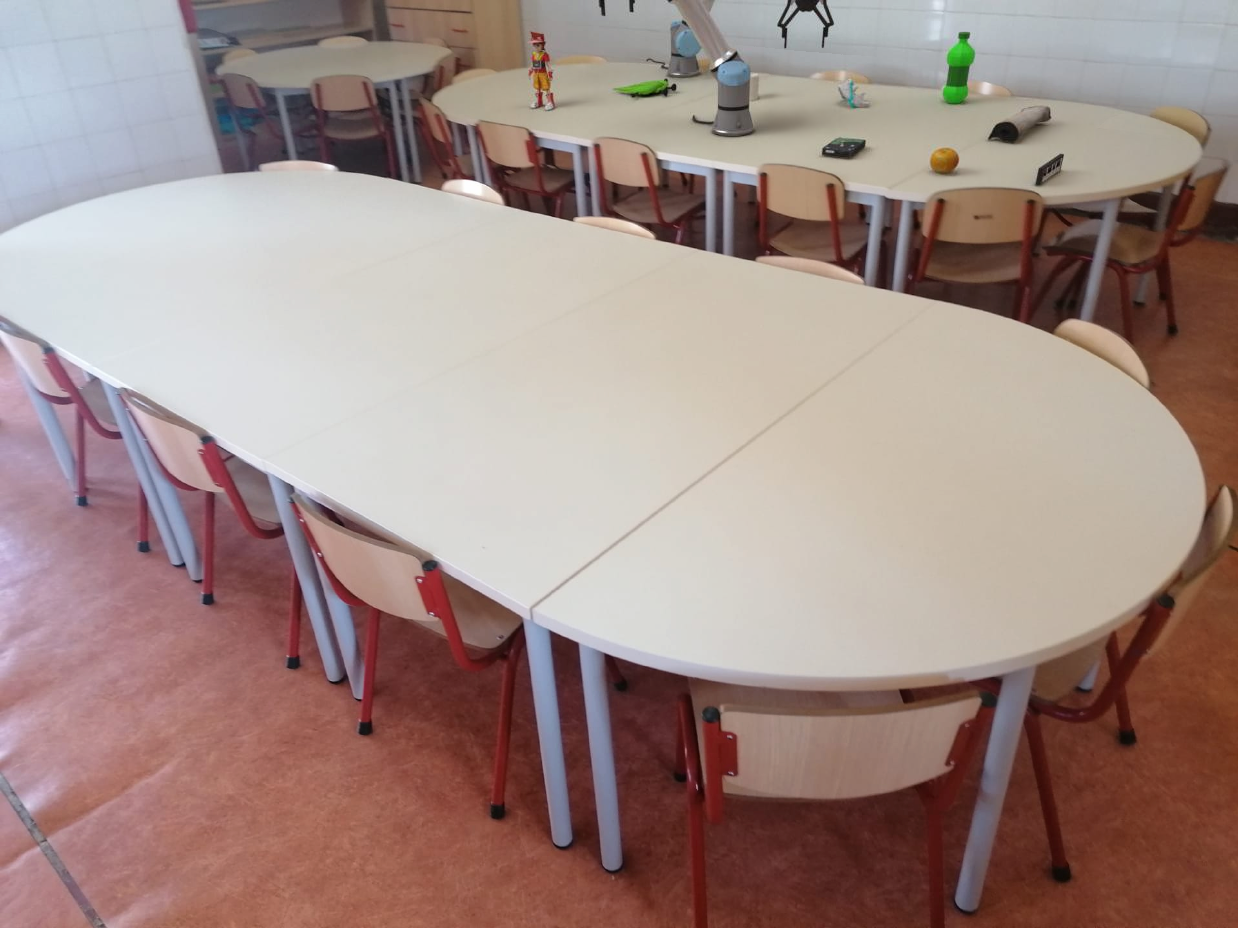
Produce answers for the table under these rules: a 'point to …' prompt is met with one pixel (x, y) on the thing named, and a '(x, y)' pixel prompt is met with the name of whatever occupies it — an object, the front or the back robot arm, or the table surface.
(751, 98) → the can
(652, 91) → the toy
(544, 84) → the toy
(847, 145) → the disk drive
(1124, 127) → the table surface
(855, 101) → the anatomical model
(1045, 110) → the rolled mat
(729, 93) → the front robot arm
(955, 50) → the plastic bottle
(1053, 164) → the midi keyboard
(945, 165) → the fruit
